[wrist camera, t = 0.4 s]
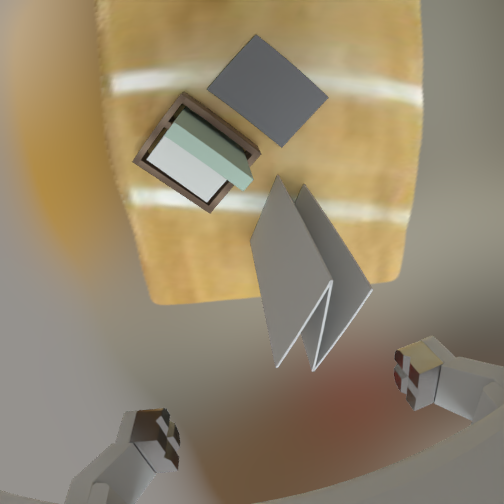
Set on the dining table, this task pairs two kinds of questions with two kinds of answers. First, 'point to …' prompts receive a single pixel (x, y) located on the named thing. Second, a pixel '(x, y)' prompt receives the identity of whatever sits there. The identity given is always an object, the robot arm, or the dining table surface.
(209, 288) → the dining table surface
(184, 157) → the offcut upper
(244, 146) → the rack
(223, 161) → the block
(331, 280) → the brochure
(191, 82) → the dining table surface
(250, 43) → the mat
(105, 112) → the dining table surface
